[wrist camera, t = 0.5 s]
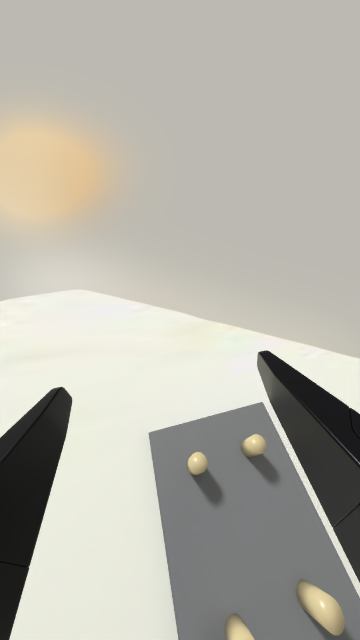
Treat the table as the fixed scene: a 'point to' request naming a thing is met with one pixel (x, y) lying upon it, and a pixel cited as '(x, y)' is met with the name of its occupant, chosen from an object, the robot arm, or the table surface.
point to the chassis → (246, 536)
